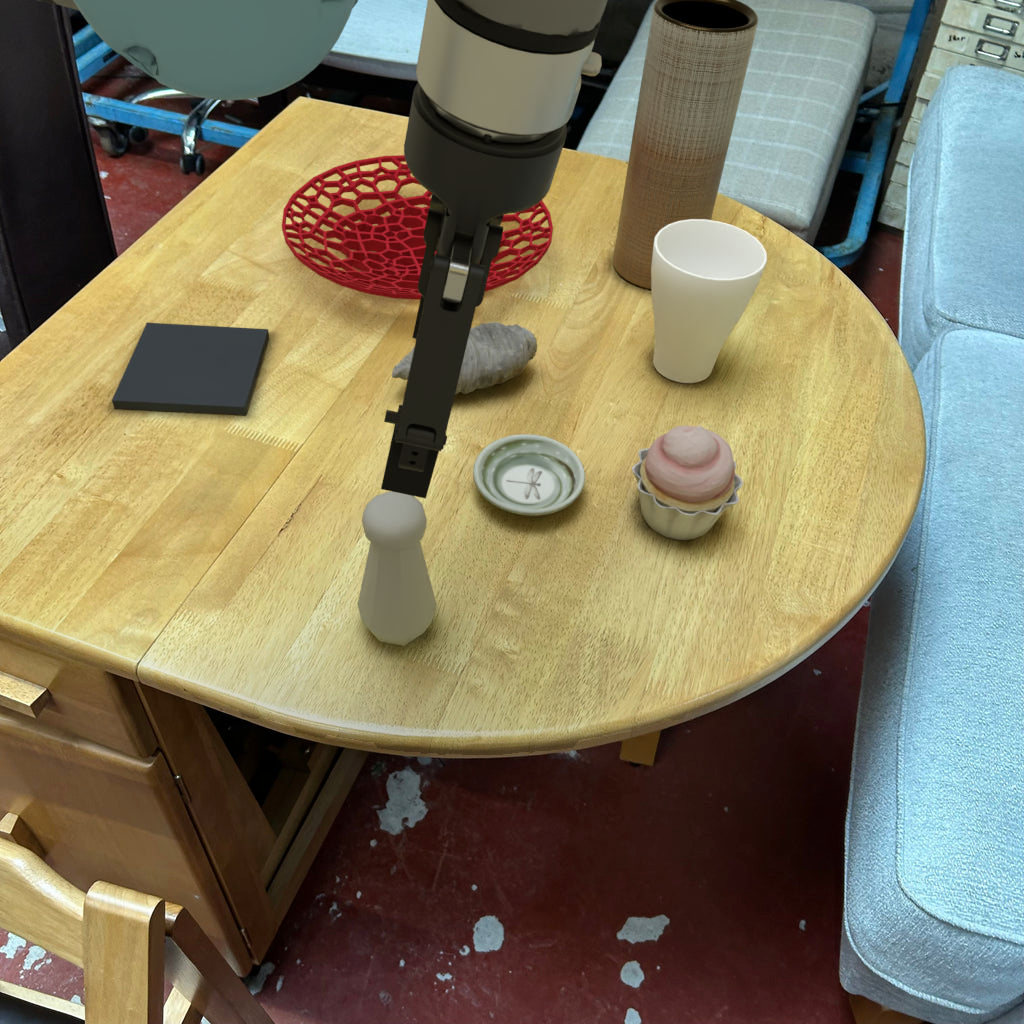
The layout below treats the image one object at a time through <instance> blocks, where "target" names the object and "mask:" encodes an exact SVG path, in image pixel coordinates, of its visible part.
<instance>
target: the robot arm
mask: <svg viewBox="0 0 1024 1024" xmlns="http://www.w3.org/2000/svg"><path fill="white" fill-rule="evenodd" d="M37 1H39V2H43V3H47V4H53V5H55V6H56V5H57V6H61V7H65V8H69V9H73V10H77V11H79V12H80V13H81V15H82V16H83V18H84V19H85V21H86V22H87V23H88V24H89V26H90V27H91V29H92V30H93V31H94V33H96V35H98V37H99V38H100V40H102V41H103V42H104V43H105V44H106V45H107V46H108V47H109V48H110V49H112V50H113V51H114V52H115V53H117V54H119V55H121V56H122V57H123V58H124V59H125V60H127V61H128V62H129V63H131V64H132V65H133V66H134V67H136V68H137V69H139V70H140V71H142V72H143V73H145V74H146V75H148V76H149V77H152V78H153V79H155V80H156V81H157V82H158V83H159V84H160V85H162V86H164V87H167V88H170V89H172V90H174V91H176V92H180V93H183V94H186V95H188V96H193V97H195V98H201V99H207V100H213V101H230V102H232V101H240V100H241V101H242V100H253V99H257V98H261V97H266V96H269V95H272V94H274V93H277V92H280V91H281V90H285V89H287V88H288V87H290V86H292V85H294V84H295V83H297V82H300V81H301V80H303V79H304V78H305V77H306V76H308V75H309V74H310V73H311V72H313V71H314V70H315V69H316V68H317V67H318V66H319V65H320V64H321V62H322V61H323V60H324V59H325V58H326V57H327V56H328V55H329V54H330V52H331V51H332V49H333V48H334V46H335V45H336V44H337V42H338V41H339V39H340V37H341V36H342V33H343V31H344V29H345V27H346V25H347V23H348V21H349V19H350V17H351V14H352V11H353V9H354V8H355V6H357V3H359V0H37ZM607 3H608V0H427V2H426V9H425V14H424V21H423V26H422V32H421V39H420V45H419V51H418V57H417V62H416V69H415V70H416V71H415V73H416V78H417V79H416V80H417V83H416V85H415V87H414V89H413V92H412V99H411V103H410V110H409V116H408V121H407V125H406V126H407V127H406V133H405V139H404V144H403V155H404V156H405V160H406V162H405V164H407V166H408V168H409V170H410V172H411V176H412V177H415V179H416V180H417V181H418V182H419V183H420V184H421V185H420V186H422V188H424V189H425V190H426V191H427V190H428V191H429V192H431V193H432V195H431V196H430V198H431V201H430V208H429V211H428V215H427V220H426V225H425V230H424V238H423V239H424V241H425V244H426V249H425V254H424V258H423V263H422V268H421V273H420V277H419V282H418V290H419V293H420V294H421V300H419V305H418V308H417V315H416V319H415V323H414V329H413V333H412V337H411V338H412V339H415V344H414V346H413V348H414V352H413V357H412V361H411V366H410V371H409V376H408V380H406V384H405V390H404V395H403V399H402V404H398V409H397V411H394V410H390V409H386V411H385V416H384V420H383V422H384V423H388V424H392V425H394V427H393V431H392V436H391V439H390V446H389V450H388V455H387V459H386V464H385V469H384V471H383V472H384V473H383V477H382V482H381V487H380V489H381V490H384V491H387V492H397V493H402V494H407V495H411V496H414V497H416V498H421V499H427V497H428V492H429V489H430V486H431V483H432V478H433V474H434V471H435V468H436V463H437V460H438V456H439V453H440V452H442V450H444V446H446V445H447V441H448V436H447V430H448V425H449V421H450V417H451V413H452V409H453V405H454V400H455V396H456V394H455V392H456V388H457V384H458V380H459V375H460V371H461V367H462V363H463V359H464V354H465V350H466V346H467V342H468V338H469V333H470V329H471V328H472V326H473V320H474V316H475V313H476V308H478V307H480V305H482V303H483V301H484V297H485V292H486V291H485V288H486V283H487V279H488V274H489V270H490V265H491V261H492V260H493V259H494V258H495V257H496V256H497V254H498V253H499V252H500V249H501V248H500V243H501V239H502V234H503V232H504V226H502V225H501V224H502V223H503V222H502V220H503V216H504V215H510V214H515V213H517V212H521V211H524V210H527V209H529V208H531V207H533V206H535V205H536V204H538V203H539V202H540V201H541V200H542V201H543V200H544V198H545V197H546V196H547V195H548V194H549V192H550V189H551V187H552V183H553V181H554V177H555V173H556V170H557V167H558V164H559V161H560V157H561V155H562V152H563V148H564V146H565V142H566V138H567V135H568V127H567V123H568V122H569V120H570V119H571V117H572V115H573V113H574V109H575V106H576V103H577V100H578V97H579V93H580V90H581V86H582V75H584V76H588V77H596V76H597V75H599V73H600V72H601V68H602V67H603V66H602V64H603V63H602V56H601V55H600V54H599V53H597V52H595V51H593V48H594V45H595V39H596V38H597V36H598V32H599V29H600V26H601V23H602V19H603V16H604V12H605V10H606V6H607ZM499 248H500V249H499ZM435 251H437V252H436V254H435ZM434 254H435V255H434ZM479 262H480V264H479Z"/></svg>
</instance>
